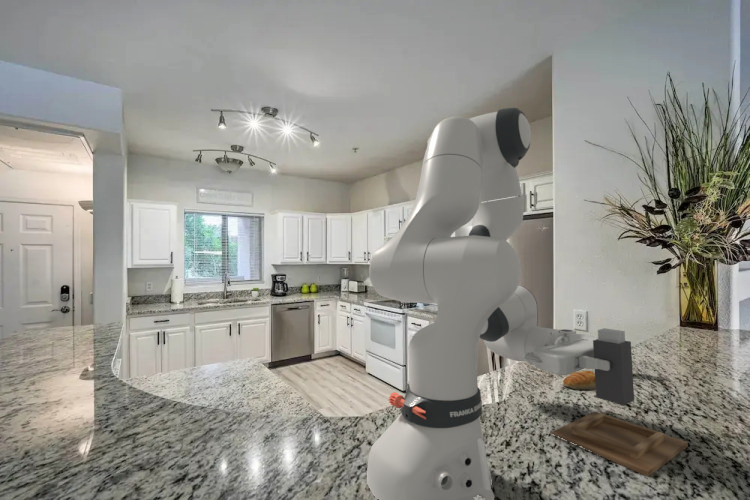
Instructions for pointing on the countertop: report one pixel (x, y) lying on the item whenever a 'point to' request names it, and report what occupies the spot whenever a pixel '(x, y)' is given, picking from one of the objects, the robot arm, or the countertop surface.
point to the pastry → (580, 380)
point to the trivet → (622, 442)
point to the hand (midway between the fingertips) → (617, 363)
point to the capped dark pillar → (614, 367)
